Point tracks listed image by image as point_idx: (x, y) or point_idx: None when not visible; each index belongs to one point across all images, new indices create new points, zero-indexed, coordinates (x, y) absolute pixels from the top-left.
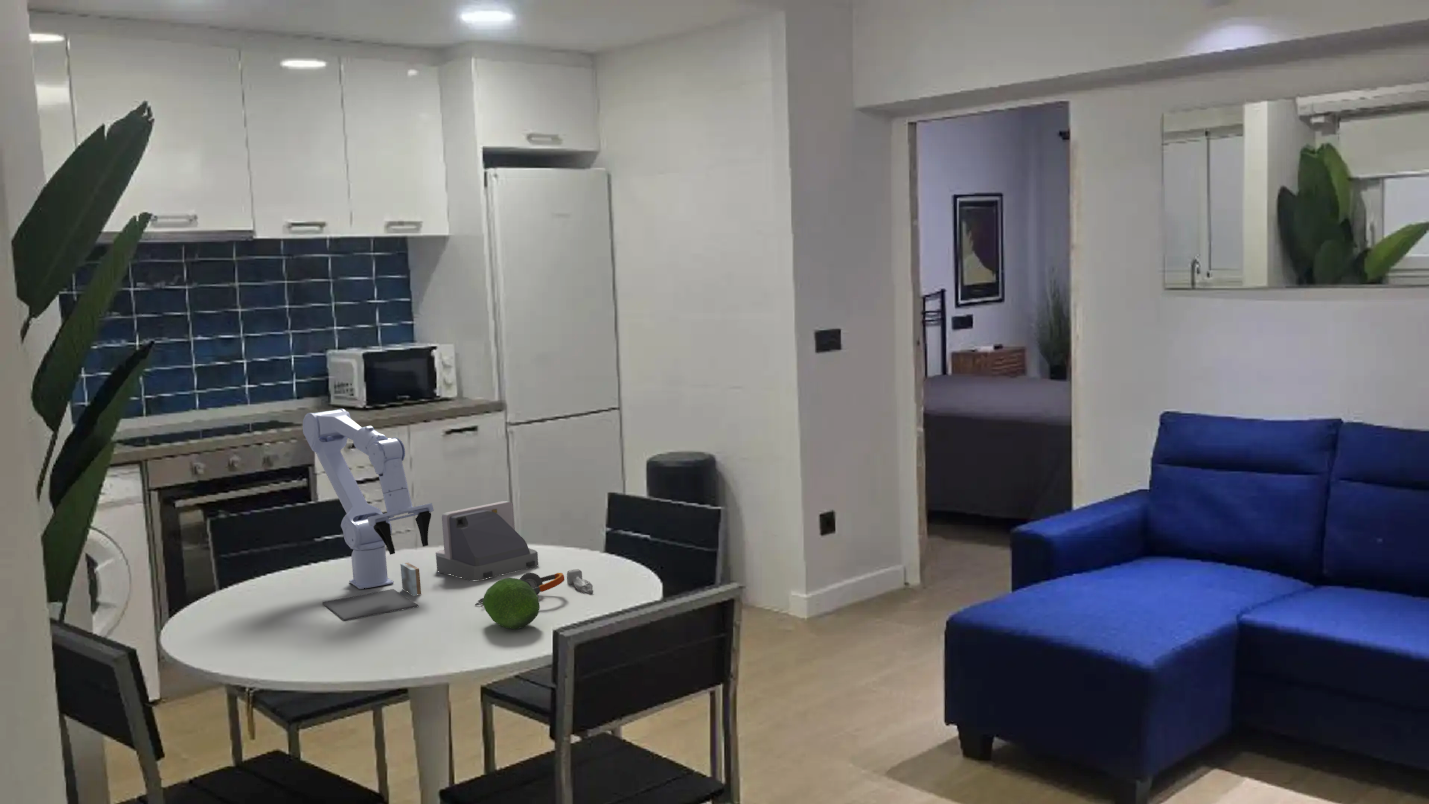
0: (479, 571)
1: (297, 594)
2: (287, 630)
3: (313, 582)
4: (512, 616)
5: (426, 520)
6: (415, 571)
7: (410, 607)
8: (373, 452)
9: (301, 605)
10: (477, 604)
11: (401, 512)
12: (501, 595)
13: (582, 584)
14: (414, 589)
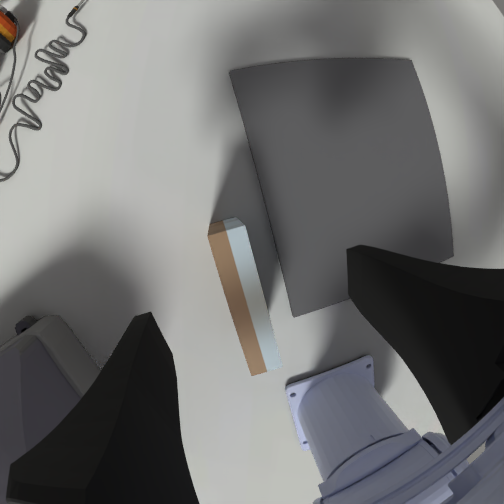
0: (35, 326)
1: None
2: (479, 80)
3: (417, 428)
4: None
5: (65, 444)
6: (225, 229)
7: (253, 67)
8: None
9: (475, 261)
10: (81, 29)
11: (496, 487)
12: None
13: None
14: (232, 219)
